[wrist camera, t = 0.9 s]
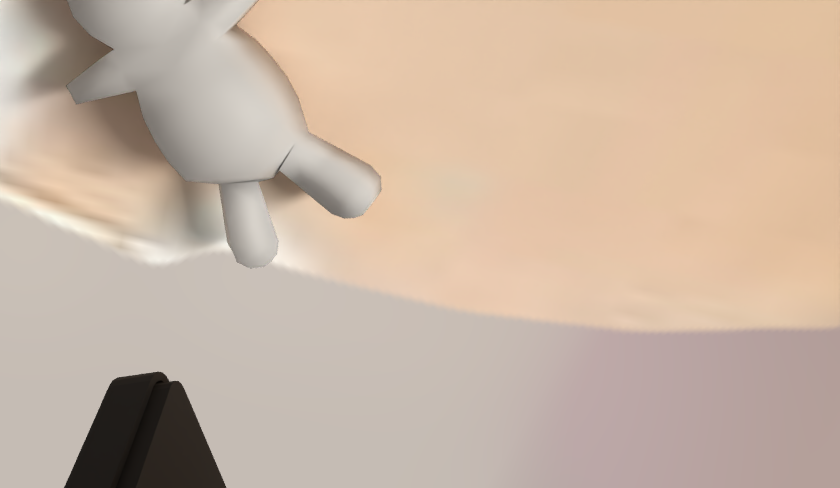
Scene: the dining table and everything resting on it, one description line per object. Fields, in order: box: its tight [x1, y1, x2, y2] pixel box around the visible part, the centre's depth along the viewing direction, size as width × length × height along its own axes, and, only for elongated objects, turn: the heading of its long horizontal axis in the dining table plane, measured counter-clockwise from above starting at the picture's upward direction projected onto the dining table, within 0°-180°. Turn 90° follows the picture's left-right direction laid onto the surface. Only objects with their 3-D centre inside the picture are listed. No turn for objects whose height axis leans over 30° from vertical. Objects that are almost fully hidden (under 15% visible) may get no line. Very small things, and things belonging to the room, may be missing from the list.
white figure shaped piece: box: [66, 0, 382, 268], centre depth 32 cm, size 10×5×15 cm
